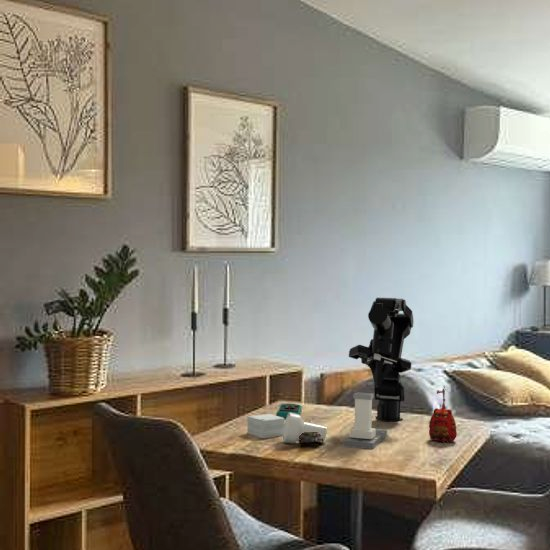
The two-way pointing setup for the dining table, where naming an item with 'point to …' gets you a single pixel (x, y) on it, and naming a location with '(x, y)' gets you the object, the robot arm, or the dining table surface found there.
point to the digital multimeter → (288, 410)
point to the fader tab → (363, 416)
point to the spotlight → (299, 428)
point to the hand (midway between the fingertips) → (377, 386)
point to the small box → (265, 425)
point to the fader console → (366, 440)
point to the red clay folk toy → (442, 424)
